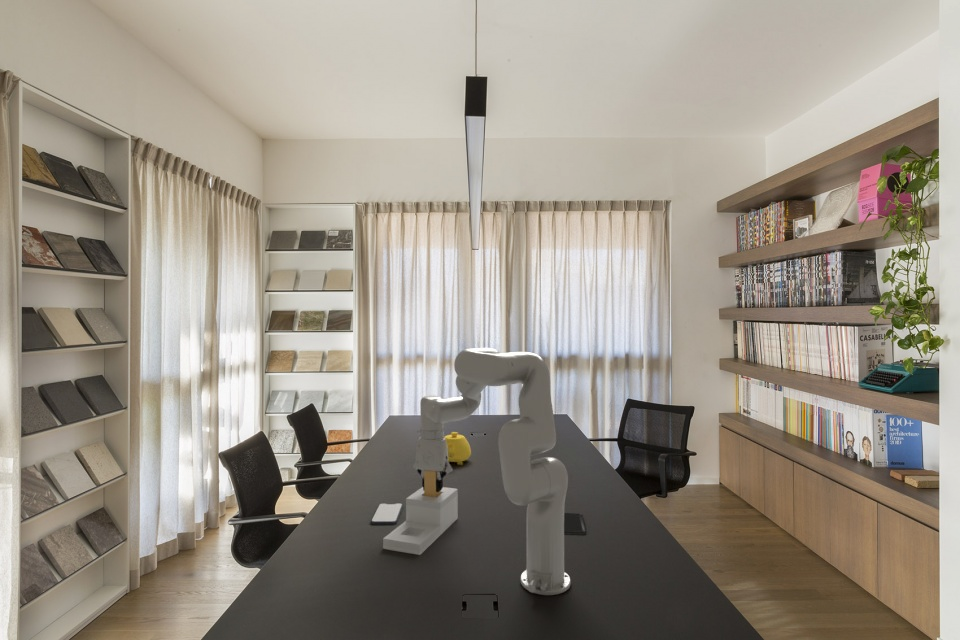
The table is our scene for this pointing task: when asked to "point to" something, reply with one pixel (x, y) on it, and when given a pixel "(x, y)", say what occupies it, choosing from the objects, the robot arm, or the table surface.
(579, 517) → the phone
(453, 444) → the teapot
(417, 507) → the white stepped socket block
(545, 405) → the robot arm
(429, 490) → the plug
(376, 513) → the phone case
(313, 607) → the table surface
